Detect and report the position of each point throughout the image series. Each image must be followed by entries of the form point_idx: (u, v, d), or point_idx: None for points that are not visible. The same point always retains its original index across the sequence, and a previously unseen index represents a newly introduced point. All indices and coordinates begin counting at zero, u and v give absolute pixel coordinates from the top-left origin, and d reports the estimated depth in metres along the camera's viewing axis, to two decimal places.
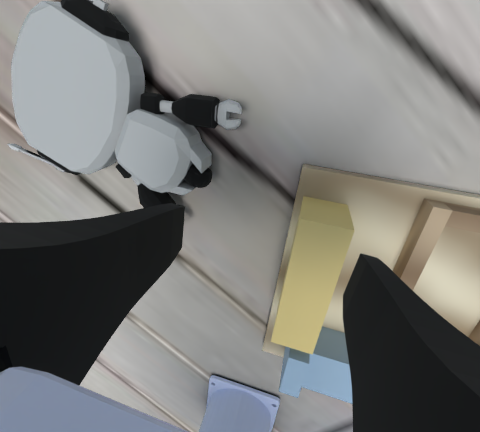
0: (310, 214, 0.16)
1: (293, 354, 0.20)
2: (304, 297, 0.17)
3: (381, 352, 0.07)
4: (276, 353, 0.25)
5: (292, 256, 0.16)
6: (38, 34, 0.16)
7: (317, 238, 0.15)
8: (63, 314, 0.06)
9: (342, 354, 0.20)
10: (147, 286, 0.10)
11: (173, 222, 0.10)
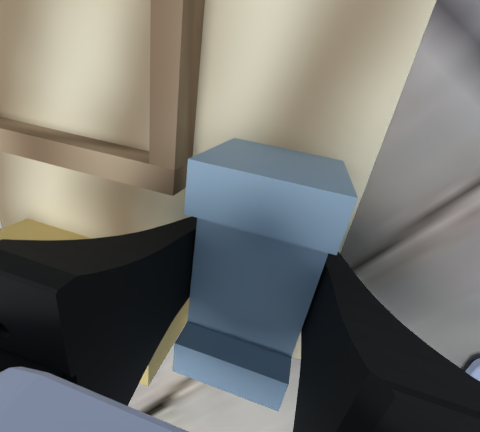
0: None
1: None
2: None
3: (319, 332, 0.07)
4: None
5: None
6: None
7: None
8: (121, 336, 0.06)
9: None
10: (185, 298, 0.10)
11: None
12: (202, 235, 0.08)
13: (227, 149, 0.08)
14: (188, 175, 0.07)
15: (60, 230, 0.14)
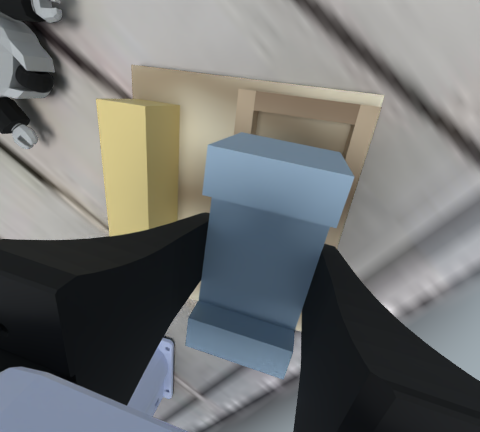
0: (116, 100, 0.15)
1: None
2: (125, 195, 0.17)
3: (319, 332, 0.07)
4: None
5: (102, 146, 0.16)
6: None
7: (116, 121, 0.15)
8: (121, 335, 0.06)
9: None
10: (185, 298, 0.10)
11: None
12: (215, 217, 0.09)
13: (238, 140, 0.09)
14: (207, 159, 0.08)
15: (178, 141, 0.19)
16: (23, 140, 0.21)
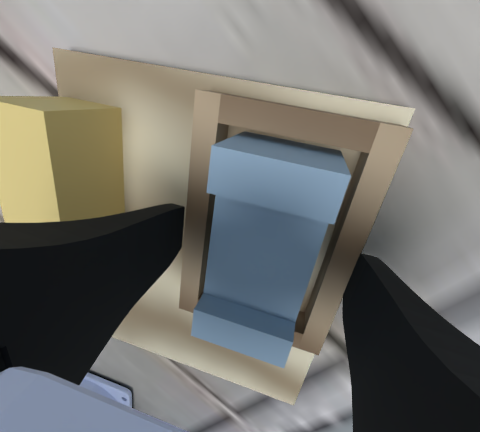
0: (12, 99, 0.10)
1: None
2: None
3: (381, 352, 0.07)
4: None
5: None
6: None
7: (7, 132, 0.10)
8: (63, 314, 0.06)
9: None
10: (147, 286, 0.10)
11: (173, 222, 0.10)
12: (219, 213, 0.10)
13: (241, 139, 0.09)
14: (211, 159, 0.08)
15: (121, 158, 0.13)
16: None
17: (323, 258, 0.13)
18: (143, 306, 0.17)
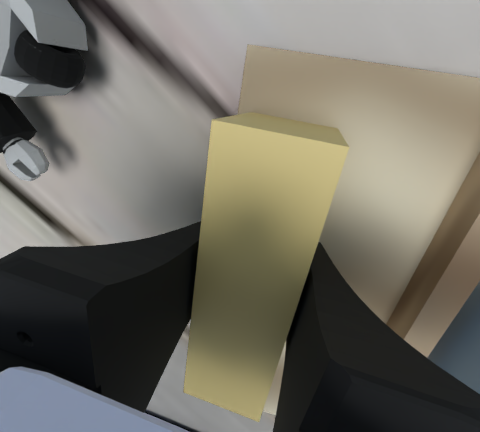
0: (247, 122, 0.07)
1: None
2: (236, 315, 0.08)
3: (300, 326, 0.07)
4: None
5: (204, 221, 0.07)
6: None
7: (256, 175, 0.06)
8: (141, 343, 0.06)
9: None
10: None
11: None
12: None
13: None
14: None
15: None
16: (24, 166, 0.12)
17: None
18: None
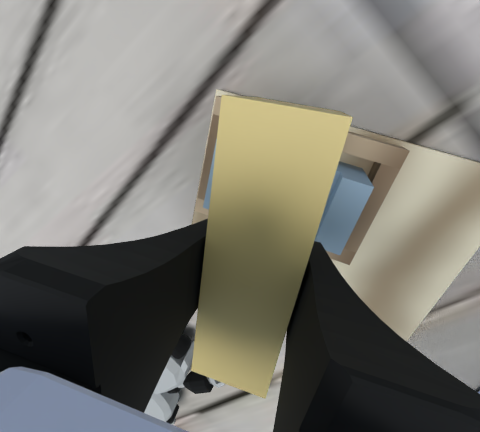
0: (254, 99, 0.07)
1: None
2: (244, 289, 0.08)
3: (300, 326, 0.07)
4: None
5: (214, 195, 0.07)
6: None
7: (263, 148, 0.07)
8: (141, 343, 0.06)
9: None
10: (198, 303, 0.10)
11: None
12: None
13: None
14: None
15: None
16: None
17: None
18: (364, 299, 0.20)
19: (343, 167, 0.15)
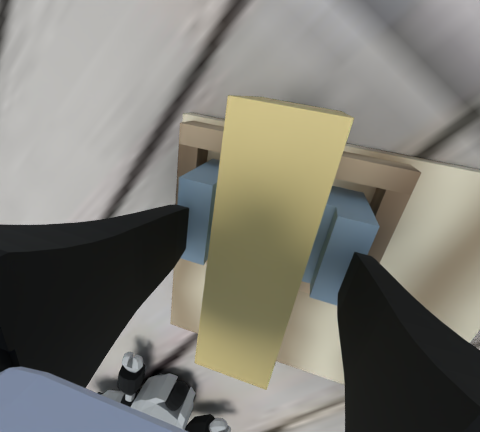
0: (258, 99, 0.07)
1: None
2: (247, 283, 0.09)
3: (372, 349, 0.07)
4: None
5: (219, 192, 0.08)
6: None
7: (268, 147, 0.07)
8: (71, 317, 0.06)
9: None
10: (152, 288, 0.10)
11: (178, 223, 0.10)
12: None
13: None
14: (182, 258, 0.13)
15: None
16: (222, 431, 0.23)
17: None
18: None
19: (339, 196, 0.12)
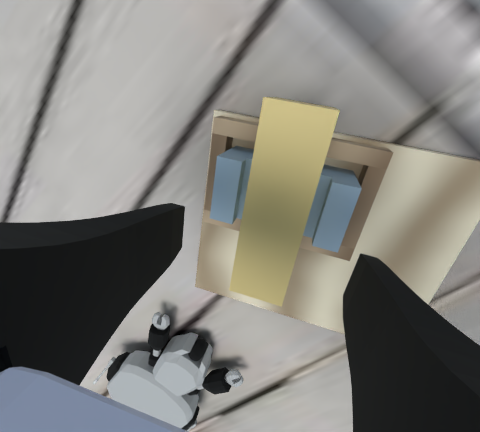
0: (281, 99, 0.11)
1: None
2: (270, 223, 0.13)
3: (381, 352, 0.07)
4: None
5: (254, 160, 0.12)
6: (118, 398, 0.30)
7: (287, 129, 0.11)
8: (63, 314, 0.06)
9: None
10: (147, 286, 0.10)
11: (173, 222, 0.10)
12: None
13: None
14: (215, 219, 0.17)
15: None
16: (236, 380, 0.27)
17: None
18: None
19: (334, 171, 0.16)
